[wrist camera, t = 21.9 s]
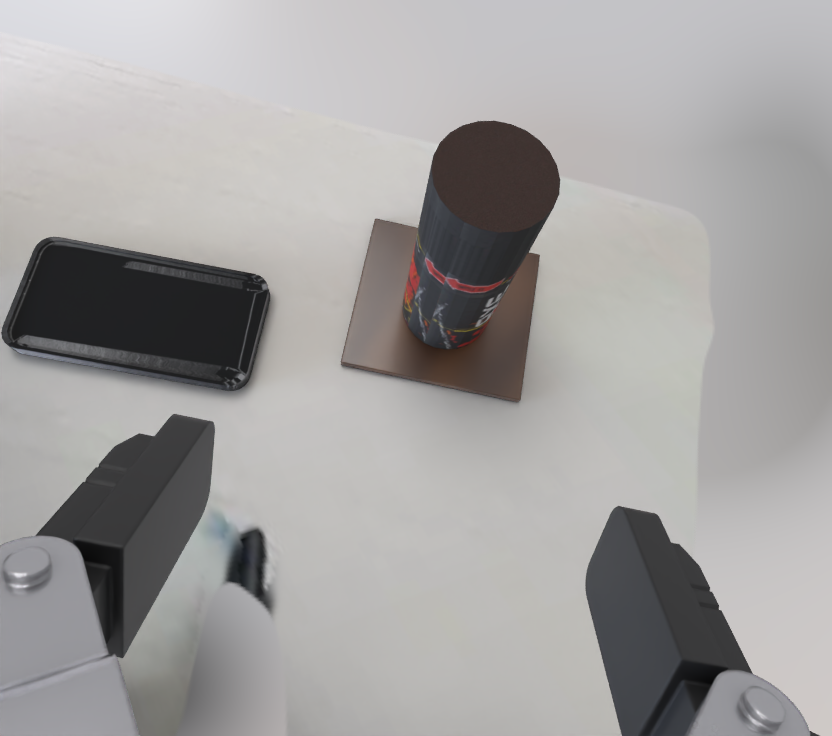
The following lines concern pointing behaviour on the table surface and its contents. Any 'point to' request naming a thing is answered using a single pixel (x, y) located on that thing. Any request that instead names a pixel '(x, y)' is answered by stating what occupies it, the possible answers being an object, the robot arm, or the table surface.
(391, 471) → the table surface
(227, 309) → the phone
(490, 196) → the deodorant
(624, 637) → the robot arm
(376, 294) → the walnut board
